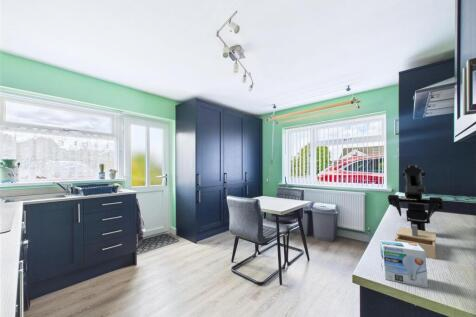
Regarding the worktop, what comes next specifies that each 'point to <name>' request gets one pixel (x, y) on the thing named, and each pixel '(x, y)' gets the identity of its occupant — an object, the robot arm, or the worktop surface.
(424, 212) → the robot arm
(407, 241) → the wooden box
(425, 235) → the sliding lid
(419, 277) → the light bulb box
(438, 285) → the worktop surface
